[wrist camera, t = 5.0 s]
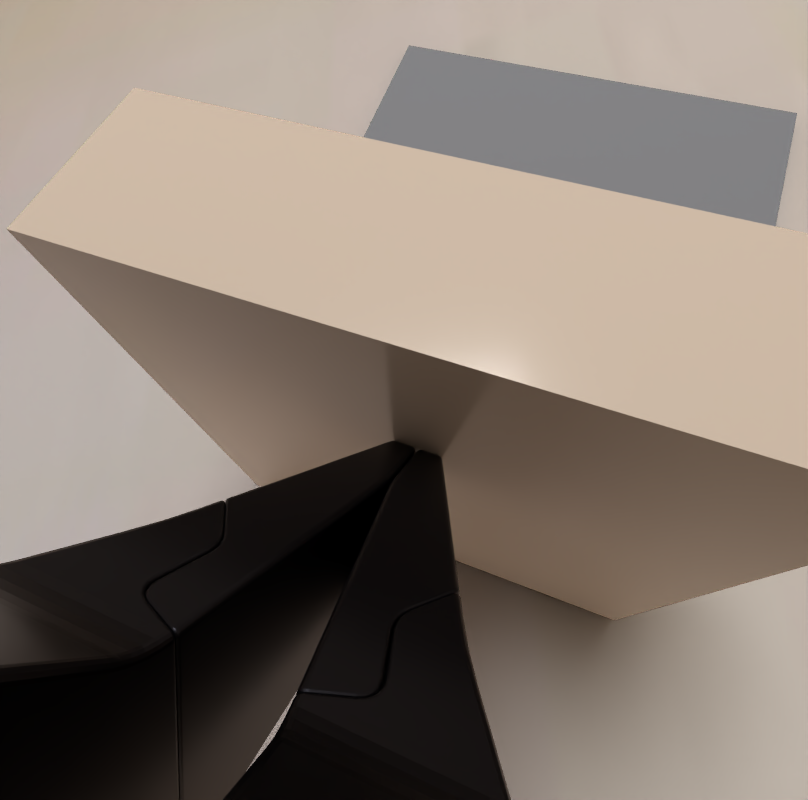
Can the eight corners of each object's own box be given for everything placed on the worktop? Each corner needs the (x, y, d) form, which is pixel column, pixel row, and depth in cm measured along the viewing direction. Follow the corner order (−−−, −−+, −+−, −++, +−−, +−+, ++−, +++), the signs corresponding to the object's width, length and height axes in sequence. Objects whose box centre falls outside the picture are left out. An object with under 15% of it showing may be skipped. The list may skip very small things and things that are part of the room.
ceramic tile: (614, 620, 15) (971, 518, 5) (257, 485, 17) (6, 228, 7) (636, 508, 16) (956, 249, 6) (302, 397, 18) (143, 77, 8)
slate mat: (715, 509, 16) (721, 507, 15) (259, 361, 19) (254, 356, 18) (790, 122, 20) (796, 113, 20) (409, 54, 23) (409, 45, 23)
